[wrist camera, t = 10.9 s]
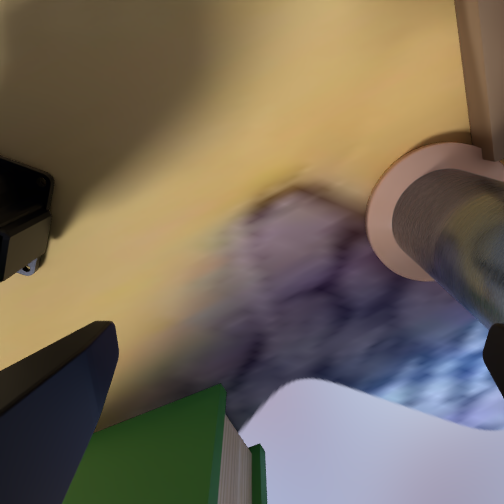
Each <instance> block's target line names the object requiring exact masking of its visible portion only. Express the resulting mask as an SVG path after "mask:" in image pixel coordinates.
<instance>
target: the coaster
mask: <svg viewBox="0 0 504 504" xmlns="http://www.w3.org/2000/svg"><path fill="white" fill-rule="evenodd" d="M447 168H449V169H460V170H464V171H467V172H471V173H474V174H478V175H481V176H485V177H489V178H492V179H496V180H499V181H503V182H504V166H503V164H502V163H501V162H500V161H496V162H493V161H488V160H484V159H483V158H482V149H481V148H479V147H476V146H473V145H468V144H463V143H456V142H440V143H433V144H429V145H425V146H422V147H419V148H417V149H415V150H413V151H411V152H409V153H407V154H405V155H404V156H402V157H401V158H399V159H398V160H397V161H396V162H394V163H393V164H392V165H391V166H390V167H389V168H388V169H387V170H386V171H385V172H384V173H383V175H382V176H381V177H380V179H379V180H378V181H377V183H376V185H375V186H374V188H373V190H372V192H371V195H370V197H369V200H368V203H367V207H366V213H365V229H366V234H367V238H368V241H369V244H370V246H371V248H372V249H373V251H374V253H375V254H376V255H377V256H378V258H379V259H380V260H381V261H382V262H383V263H384V265H386V266H387V267H388V268H389V269H390V270H392V271H393V272H395V273H396V274H398V275H400V276H403V277H405V278H408V279H412V280H417V281H435V280H434V279H433V278H432V277H431V276H430V275H429V274H427V273H426V272H425V271H424V270H423V269H422V268H421V267H420V266H419V265H418V264H417V263H416V262H414V261H413V260H412V259H411V258H410V257H409V256H408V255H407V254H406V253H405V252H404V251H403V250H402V249H401V248H400V247H399V246H398V244H397V243H396V241H395V238H394V235H393V232H392V216H393V212H394V208H395V206H396V203H397V201H398V200H399V198H400V196H401V195H402V193H403V192H404V191H405V190H406V189H407V187H408V186H409V185H410V184H412V183H413V182H414V181H415V180H417V179H418V178H420V177H421V176H423V175H425V174H427V173H430V172H432V171H436V170H440V169H447Z"/></svg>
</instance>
